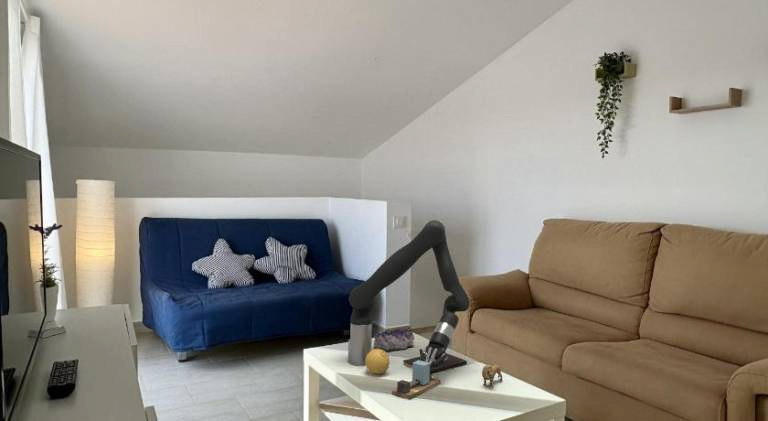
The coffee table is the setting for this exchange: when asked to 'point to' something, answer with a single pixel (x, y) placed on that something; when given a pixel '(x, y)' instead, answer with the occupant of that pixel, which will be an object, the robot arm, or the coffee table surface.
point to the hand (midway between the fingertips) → (424, 374)
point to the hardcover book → (447, 365)
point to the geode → (394, 340)
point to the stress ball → (377, 361)
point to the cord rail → (414, 388)
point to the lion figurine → (491, 373)
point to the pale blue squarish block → (421, 372)
